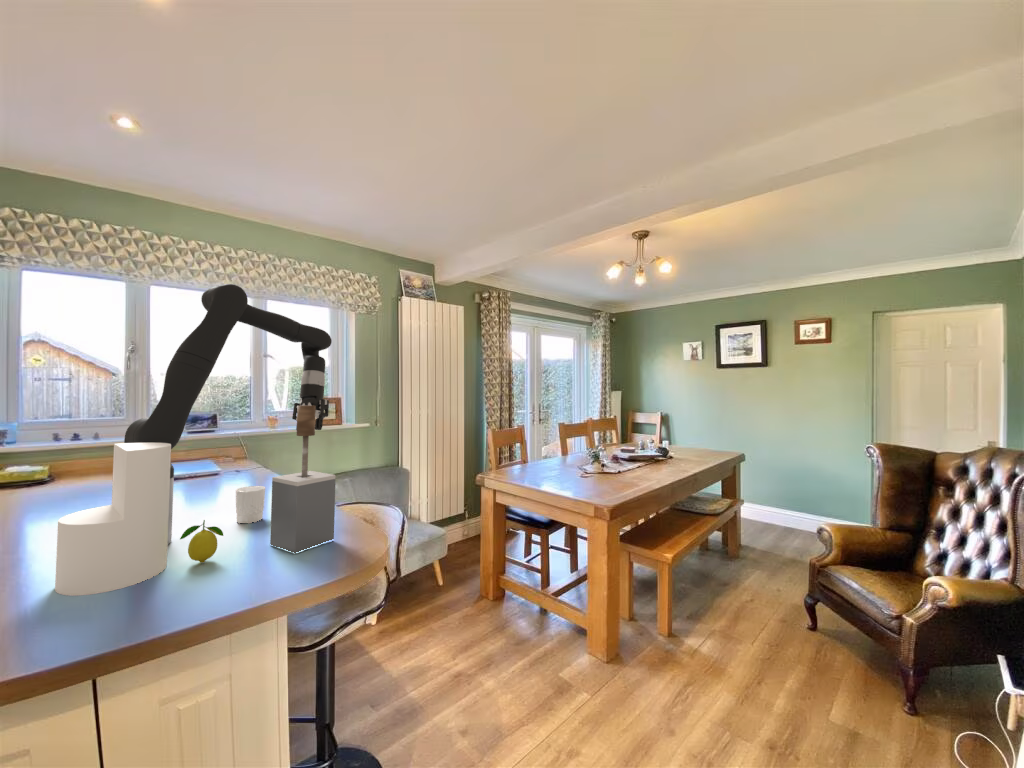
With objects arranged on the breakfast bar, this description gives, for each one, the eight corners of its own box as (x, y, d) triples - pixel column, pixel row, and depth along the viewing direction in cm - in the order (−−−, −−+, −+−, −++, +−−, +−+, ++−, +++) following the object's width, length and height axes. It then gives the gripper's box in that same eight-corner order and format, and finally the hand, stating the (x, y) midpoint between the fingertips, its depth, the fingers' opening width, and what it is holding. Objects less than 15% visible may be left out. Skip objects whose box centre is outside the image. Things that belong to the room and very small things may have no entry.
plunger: (298, 511, 104) (301, 406, 105) (281, 507, 108) (284, 405, 109) (325, 504, 111) (328, 405, 111) (308, 500, 114) (310, 405, 115)
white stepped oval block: (157, 554, 100) (162, 440, 101) (175, 574, 90) (179, 447, 90) (52, 577, 87) (58, 447, 88) (57, 605, 76) (64, 455, 77)
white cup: (253, 524, 123) (254, 491, 124) (228, 524, 124) (229, 491, 124) (269, 517, 131) (270, 486, 132) (245, 516, 131) (246, 485, 132)
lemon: (178, 569, 92) (180, 525, 92) (191, 559, 98) (192, 517, 98) (212, 566, 94) (214, 523, 94) (223, 556, 99) (224, 515, 100)
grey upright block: (295, 554, 101) (297, 482, 102) (270, 545, 107) (272, 477, 107) (333, 541, 111) (335, 475, 111) (309, 533, 116) (310, 470, 117)
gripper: (288, 385, 143) (284, 431, 139) (319, 380, 138) (315, 427, 134) (306, 389, 149) (302, 433, 146) (336, 385, 144) (333, 430, 140)
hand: (308, 430), depth 140 cm, fingers open, 8 cm apart
